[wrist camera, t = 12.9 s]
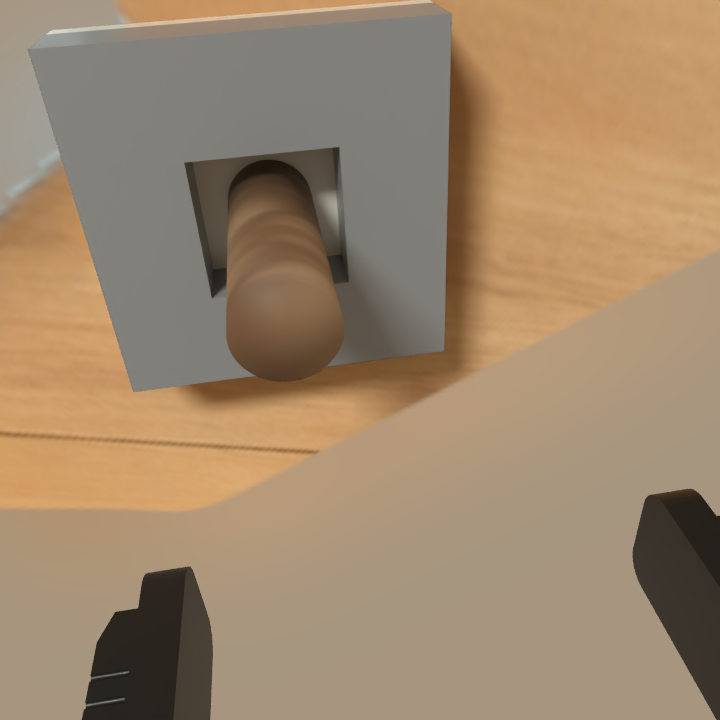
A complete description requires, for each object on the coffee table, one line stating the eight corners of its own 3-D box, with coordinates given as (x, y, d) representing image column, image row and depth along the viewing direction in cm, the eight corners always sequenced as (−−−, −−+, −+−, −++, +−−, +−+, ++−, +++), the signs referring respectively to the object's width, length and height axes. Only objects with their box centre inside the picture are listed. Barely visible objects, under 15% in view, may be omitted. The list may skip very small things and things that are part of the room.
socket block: (427, -1, 30) (451, 13, 27) (426, 312, 39) (444, 351, 36) (50, 30, 28) (27, 49, 25) (142, 348, 38) (133, 392, 34)
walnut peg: (307, 155, 32) (340, 274, 22) (315, 234, 34) (348, 373, 25) (221, 164, 32) (216, 289, 22) (235, 243, 34) (236, 388, 24)
